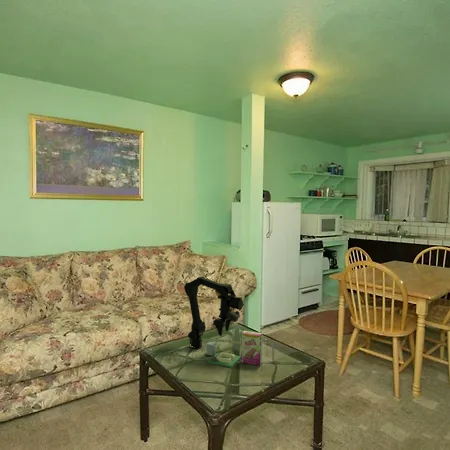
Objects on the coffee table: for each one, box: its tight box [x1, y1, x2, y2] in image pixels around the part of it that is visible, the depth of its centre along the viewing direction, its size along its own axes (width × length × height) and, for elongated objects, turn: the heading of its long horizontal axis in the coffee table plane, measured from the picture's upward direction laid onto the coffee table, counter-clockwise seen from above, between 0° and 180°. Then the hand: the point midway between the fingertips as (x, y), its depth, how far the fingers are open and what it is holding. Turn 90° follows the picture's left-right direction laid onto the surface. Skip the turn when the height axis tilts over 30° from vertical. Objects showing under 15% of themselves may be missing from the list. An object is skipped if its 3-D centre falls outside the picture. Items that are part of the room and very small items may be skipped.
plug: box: [205, 341, 217, 357], centre depth 183 cm, size 5×4×6 cm
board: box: [207, 351, 241, 369], centre depth 174 cm, size 14×13×3 cm
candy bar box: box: [240, 330, 264, 367], centre depth 172 cm, size 11×5×16 cm, turn 71°
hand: (223, 333), depth 183 cm, fingers open, 9 cm apart
